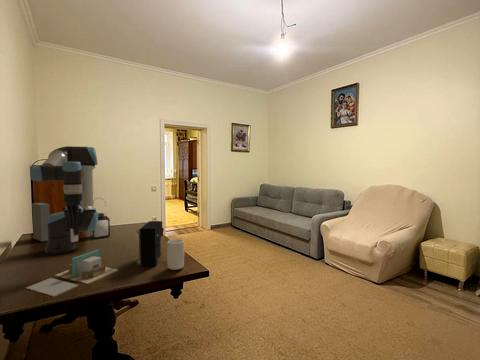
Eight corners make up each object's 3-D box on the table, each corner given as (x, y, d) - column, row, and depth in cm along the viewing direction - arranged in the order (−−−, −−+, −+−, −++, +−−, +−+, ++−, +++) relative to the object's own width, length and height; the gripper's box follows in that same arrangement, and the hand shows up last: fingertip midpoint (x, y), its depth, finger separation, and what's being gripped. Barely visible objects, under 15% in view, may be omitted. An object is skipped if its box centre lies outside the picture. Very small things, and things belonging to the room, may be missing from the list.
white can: (175, 273, 125) (175, 244, 124) (163, 269, 129) (163, 241, 128) (187, 267, 132) (187, 240, 131) (176, 264, 136) (175, 237, 135)
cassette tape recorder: (52, 239, 180) (50, 204, 178) (41, 241, 175) (40, 205, 173) (43, 236, 187) (42, 202, 186) (33, 238, 182) (31, 203, 181)
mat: (25, 289, 109) (25, 287, 109) (51, 279, 118) (50, 277, 118) (54, 297, 102) (53, 295, 102) (78, 286, 111) (78, 284, 111)
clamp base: (54, 276, 121) (54, 267, 121) (86, 264, 136) (86, 256, 136) (87, 284, 113) (87, 275, 113) (117, 270, 128) (117, 262, 128)
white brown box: (71, 272, 124) (71, 258, 124) (83, 267, 130) (83, 254, 129) (91, 276, 119) (90, 262, 119) (102, 271, 125) (101, 257, 125)
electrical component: (146, 255, 150) (145, 221, 148) (164, 254, 151) (163, 220, 149) (136, 267, 132) (135, 228, 131) (157, 266, 133) (156, 228, 132)
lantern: (110, 236, 189) (109, 198, 188) (92, 238, 183) (91, 199, 181) (107, 233, 198) (106, 196, 197) (90, 235, 191) (89, 197, 190)
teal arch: (72, 276, 119) (71, 258, 118) (97, 266, 131) (97, 249, 131) (75, 277, 118) (74, 258, 118) (100, 266, 130) (100, 249, 130)
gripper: (56, 193, 124) (57, 242, 125) (74, 194, 119) (76, 244, 121) (71, 192, 131) (73, 238, 132) (89, 193, 126) (91, 240, 127)
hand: (74, 241), depth 126 cm, fingers closed
